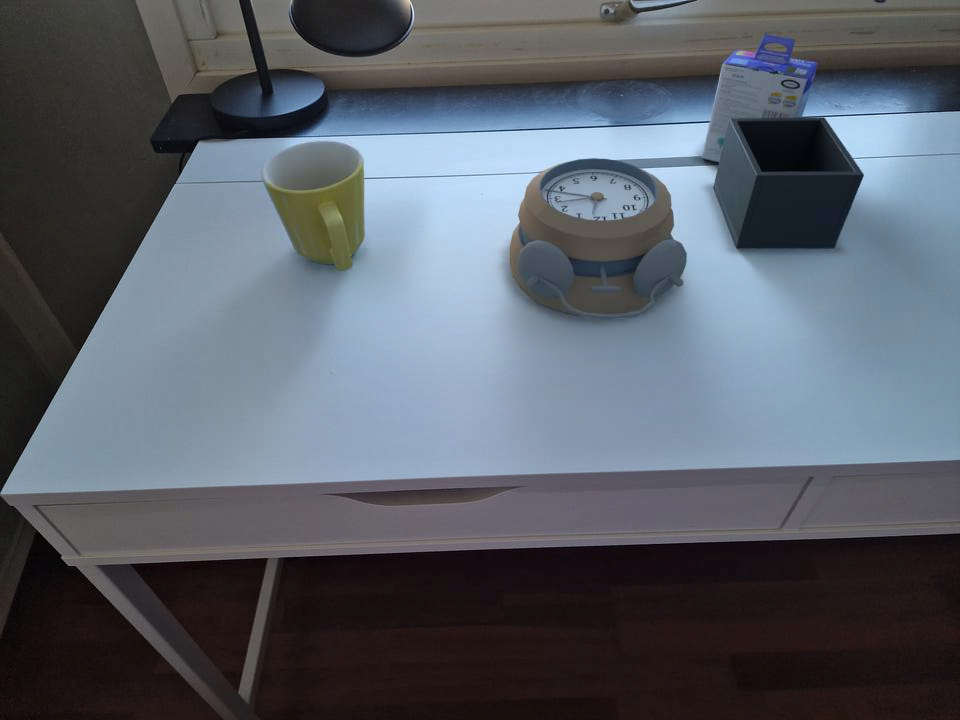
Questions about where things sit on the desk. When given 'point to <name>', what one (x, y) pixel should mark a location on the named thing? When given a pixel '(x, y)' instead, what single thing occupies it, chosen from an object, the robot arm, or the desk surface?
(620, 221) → the alarm clock
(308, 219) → the mug
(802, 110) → the ink cartridge box
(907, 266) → the desk surface
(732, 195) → the trash bin
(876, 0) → the light bulb
